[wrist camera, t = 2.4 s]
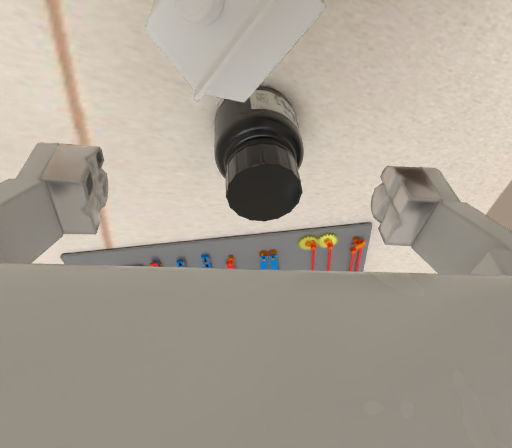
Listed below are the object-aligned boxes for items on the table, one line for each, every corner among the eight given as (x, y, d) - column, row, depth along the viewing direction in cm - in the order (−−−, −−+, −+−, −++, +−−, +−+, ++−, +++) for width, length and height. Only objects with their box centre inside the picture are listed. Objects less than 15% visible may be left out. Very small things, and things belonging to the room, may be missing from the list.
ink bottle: (309, 137, 44) (330, 208, 36) (243, 170, 47) (249, 243, 38) (269, 65, 38) (284, 130, 29) (196, 108, 40) (190, 179, 32)
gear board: (105, 334, 67) (56, 266, 54) (108, 322, 69) (61, 253, 55) (359, 309, 67) (375, 234, 53) (356, 297, 69) (370, 221, 55)
